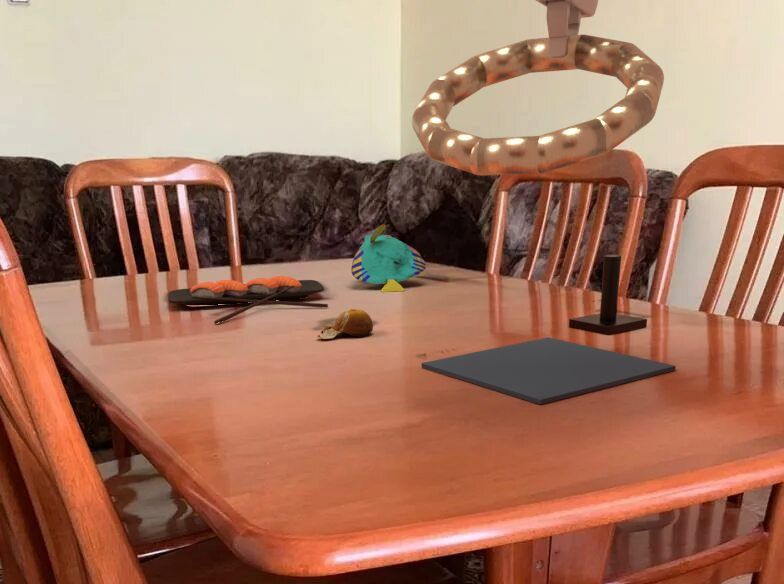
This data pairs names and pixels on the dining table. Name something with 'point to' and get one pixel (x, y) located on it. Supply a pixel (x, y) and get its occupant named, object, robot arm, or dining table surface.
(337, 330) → the fruit
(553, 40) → the robot arm
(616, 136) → the ring
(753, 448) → the dining table surface
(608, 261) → the post
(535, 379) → the mat
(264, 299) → the sushi plate
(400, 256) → the decorative fish
